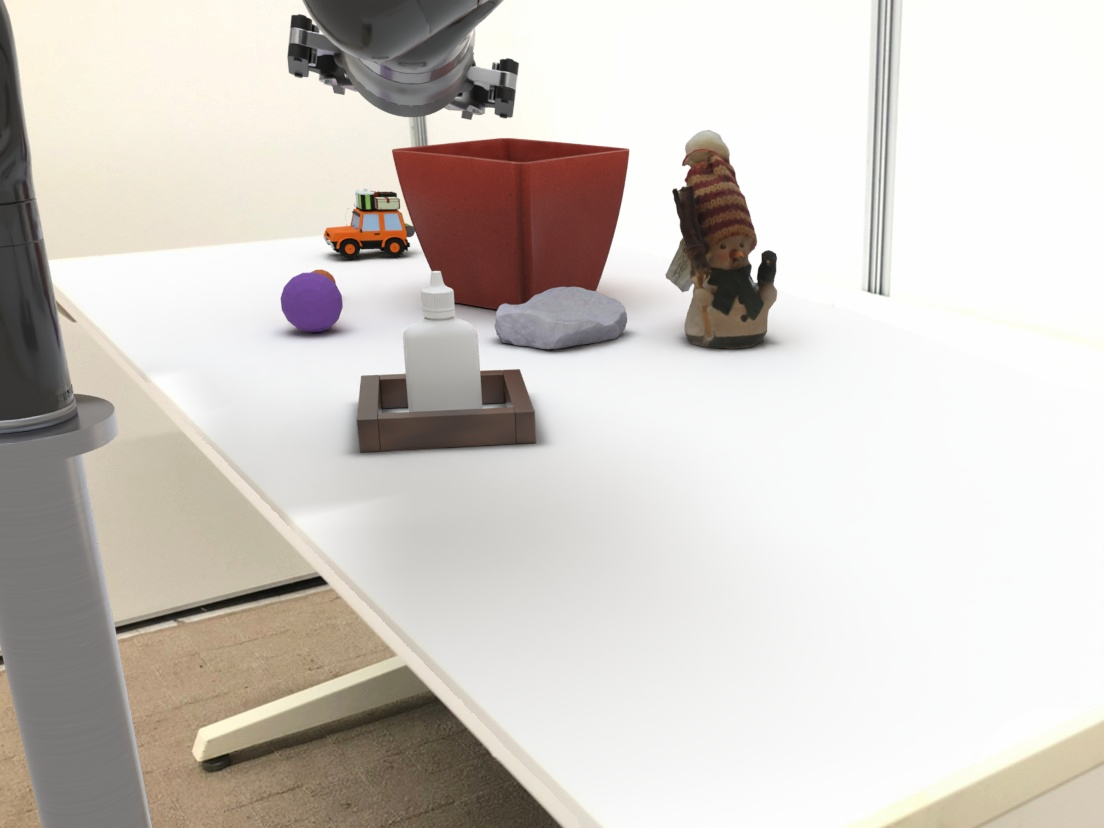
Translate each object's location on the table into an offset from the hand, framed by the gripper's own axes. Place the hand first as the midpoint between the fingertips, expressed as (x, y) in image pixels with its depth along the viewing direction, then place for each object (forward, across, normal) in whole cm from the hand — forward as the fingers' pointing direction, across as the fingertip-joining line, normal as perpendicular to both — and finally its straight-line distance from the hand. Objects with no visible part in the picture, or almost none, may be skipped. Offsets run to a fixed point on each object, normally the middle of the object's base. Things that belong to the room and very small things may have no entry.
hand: (404, 91), depth 87 cm
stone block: (+37, -18, +14) cm, 43 cm away
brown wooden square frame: (+10, -6, +23) cm, 25 cm away
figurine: (+35, -33, +12) cm, 49 cm away
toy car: (+89, +3, +6) cm, 89 cm away
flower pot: (+56, -14, +10) cm, 59 cm away
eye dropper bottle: (+10, -6, +23) cm, 26 cm away
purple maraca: (+51, +7, +16) cm, 54 cm away
